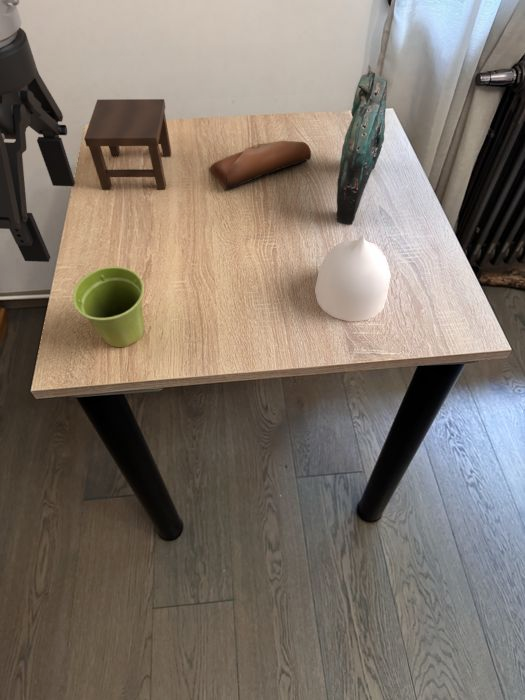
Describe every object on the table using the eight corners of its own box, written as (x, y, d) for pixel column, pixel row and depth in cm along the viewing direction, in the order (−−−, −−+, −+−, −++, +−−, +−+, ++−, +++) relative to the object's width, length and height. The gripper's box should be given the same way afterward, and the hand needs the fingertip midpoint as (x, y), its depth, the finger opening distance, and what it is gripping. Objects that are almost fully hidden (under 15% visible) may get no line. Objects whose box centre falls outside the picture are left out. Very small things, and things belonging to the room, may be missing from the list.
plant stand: (100, 191, 93) (84, 138, 84) (111, 151, 99) (97, 99, 91) (166, 190, 93) (156, 138, 84) (172, 151, 99) (164, 98, 91)
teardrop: (311, 317, 76) (318, 260, 66) (317, 264, 82) (324, 204, 72) (386, 325, 75) (405, 268, 65) (386, 271, 81) (403, 211, 71)
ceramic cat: (346, 156, 98) (363, 46, 82) (380, 161, 97) (403, 51, 81) (326, 223, 87) (340, 112, 71) (363, 230, 86) (386, 119, 70)
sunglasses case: (287, 138, 101) (298, 119, 94) (303, 170, 101) (315, 153, 94) (206, 166, 96) (212, 148, 89) (223, 200, 96) (229, 184, 89)
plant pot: (81, 353, 72) (61, 314, 65) (103, 302, 77) (86, 262, 70) (144, 361, 71) (131, 323, 64) (162, 310, 77) (152, 269, 69)
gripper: (-22, 113, 38) (59, 297, 56) (55, -22, 52) (100, 158, 70) (-124, 109, 38) (-11, 295, 55) (-19, -26, 52) (45, 156, 70)
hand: (51, 219), depth 63 cm, fingers open, 13 cm apart
